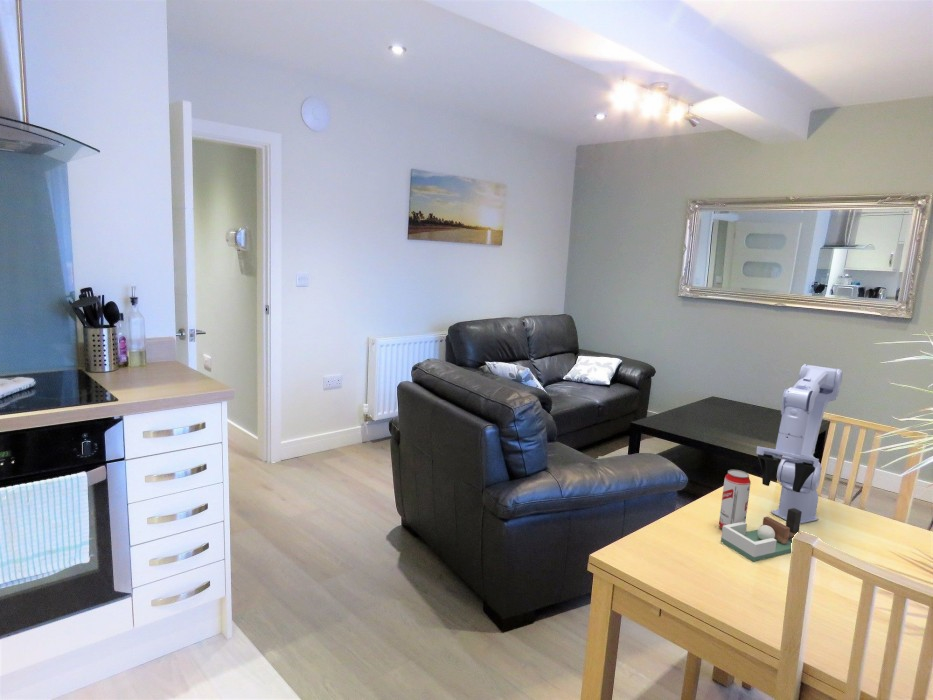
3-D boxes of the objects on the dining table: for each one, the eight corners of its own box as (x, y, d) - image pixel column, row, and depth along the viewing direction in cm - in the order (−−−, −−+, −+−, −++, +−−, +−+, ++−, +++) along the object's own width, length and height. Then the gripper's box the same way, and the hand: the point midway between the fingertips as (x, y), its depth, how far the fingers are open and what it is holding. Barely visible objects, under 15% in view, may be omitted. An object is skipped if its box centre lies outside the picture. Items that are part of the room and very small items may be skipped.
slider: (783, 527, 152) (787, 504, 151) (805, 538, 147) (809, 515, 145) (761, 531, 149) (764, 508, 148) (783, 543, 144) (786, 520, 142)
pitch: (779, 528, 155) (781, 513, 154) (813, 547, 146) (816, 531, 145) (720, 541, 147) (722, 525, 146) (753, 561, 138) (755, 544, 137)
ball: (764, 535, 148) (766, 521, 147) (777, 543, 145) (779, 528, 144) (752, 538, 147) (754, 523, 146) (766, 545, 143) (768, 530, 142)
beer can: (738, 525, 156) (746, 469, 153) (747, 536, 150) (755, 478, 147) (715, 523, 157) (722, 467, 154) (722, 534, 150) (730, 477, 148)
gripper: (770, 431, 141) (759, 485, 141) (829, 443, 140) (818, 498, 140) (756, 428, 148) (746, 479, 148) (813, 439, 147) (803, 491, 147)
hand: (780, 488), depth 144 cm, fingers open, 7 cm apart
